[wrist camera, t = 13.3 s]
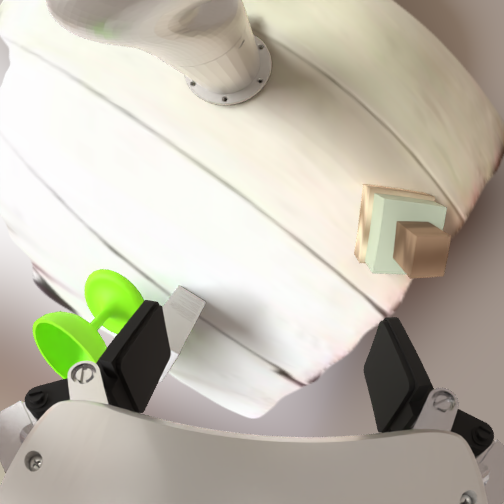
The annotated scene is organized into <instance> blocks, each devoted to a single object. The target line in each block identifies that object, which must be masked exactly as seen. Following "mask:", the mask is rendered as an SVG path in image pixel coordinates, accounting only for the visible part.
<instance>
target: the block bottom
mask: <svg viewBox="0 0 504 504" xmlns="http://www.w3.org/2000/svg"><path fill="white" fill-rule="evenodd" d="M374 193H378V194H387V195H395V196H402V197H409V198H416V199H423V200H430V201H434V202H435V197H434V196H431V195H429V194H426V193H423V192H417V191H410V190H404V189H397V188H390V187H383V186H375V185H367V184H363V189H362V199H361V208H360V216H359V224H358V231H357V238H356V245H355V251H354V254H355V256H356V258H357V259H358V261H359V263H366V262H365V257H366V251H367V245H368V239H369V232H370V225H371V218H372V210H373V202H374Z"/></svg>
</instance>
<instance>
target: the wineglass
mask: <svg viewBox="0 0 504 504" xmlns="http://www.w3.org/2000/svg"><path fill="white" fill-rule="evenodd" d="M85 299H86V302H87V305H88V307H89V309H90V311H91V313H92V314H93V316H94V317H95V319H94V320H93V321H92V322H91V323H89V322H87V321H86V320H84V319H83V318H82V317H80V316H78V315H76V314H72V313H67V312H61V311H60V312H55V313H49V314H45V315H44V316H42V317H41V318H39V319H38V320H36V321H35V322H34V325H33V336H34V339H35V342H36V345H37V347H38V348H39V350H40V352H41V354H42V355H43V357H44V358H45V360H46V361H47V363H49V365H50V366H51V367H52V368H53V369H54V371H56V373H58V374H59V375H60V376H61V377H62V378H63V379H66V378H68V377H67V376H68V371H69V369H70V368H71V367H72V366H73V365H74V364H76V363H78V362H80V361H92V362H94V363H97V361H98V360H99V358H100V357H101V355H102V354H103V353H104V351H105V350H106V349H107V347H106V345H105V342H104V341H103V339H102V337H101V336H100V334H99V333H98V331H97V330H98V329H99V328H100V327H101V326H102V325H103V326H104V327H105V328H107V329H108V330H110V331H111V332H114V333H116V334H118V333H119V332H120V331H121V329H122V328H123V327H124V325H125V324H126V323H127V322H128V320H129V319H130V318H131V317H132V315H133V314H134V313H135V312H136V310H137V309H138V308H139V307H140V305H141V304H142V303H143V302H144V300H143V298H142V296H141V294H140V293H139V291H138V290H137V289H136V287H135V286H134V285H133V284H132V283H131V282H130V281H129V280H127V279H126V278H125V277H123V276H122V275H120V274H119V273H116V272H114V271H111V270H103V269H100V270H97V271H94V272H93V273H92V274H91V275H89V277H88V279H87V281H86V284H85Z"/></svg>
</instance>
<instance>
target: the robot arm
mask: <svg viewBox="0 0 504 504" xmlns="http://www.w3.org/2000/svg"><path fill="white" fill-rule="evenodd" d="M46 5H47V7H48V10H49V12H50V14H51V15H52V17H53V18H54V19H55V21H56V22H57V23H59V24H60V25H61V26H62V27H63V28H65V29H66V30H68V31H69V32H71V33H73V34H75V35H77V36H79V37H82V38H85V39H88V40H92V41H95V42H99V43H104V44H110V45H117V46H125V47H132V48H137V49H140V50H143V51H145V52H148V53H149V54H151V55H153V56H155V57H157V58H159V59H160V60H162V61H163V62H165V63H166V64H168V65H170V66H171V67H173V68H174V69H176V70H178V71H179V72H181V73H182V74H184V76H185V80H186V83H187V85H188V86H189V88H190V89H191V91H192V92H193V93H194V94H195V95H196V96H198V97H199V98H201V99H202V100H204V101H207V102H209V103H212V104H217V105H232V104H238V103H241V102H244V101H246V100H248V99H250V98H252V97H253V96H254V95H256V94H257V93H258V92H259V91H260V90H261V89H262V88H263V87H264V86H265V84H266V83H267V81H268V79H269V76H270V74H271V68H272V61H271V56H270V52H269V50H268V48H267V46H266V45H265V44H264V42H263V41H262V40H261V39H259V38H258V37H257V36H255V35H254V34H253V33H252V29H251V26H250V23H249V20H248V16H247V13H246V10H245V7H244V4H243V2H242V0H46ZM260 48H263V49H262V50H260ZM259 81H262V83H259ZM195 83H196V85H195V86H193V84H195ZM226 98H227V99H228V100H227V101H225V99H226ZM170 356H171V350H170V345H169V340H168V335H167V330H166V324H165V319H164V313H163V308H162V306H160V305H159V303H158V302H155V301H148V300H145V301H144V302H143V303H142V304H141V305H140V307H139V308H138V309H137V310H136V312H135V313H134V314H133V315H132V317H131V318H130V319H129V320H128V322H127V323H126V324H125V325H124V327H123V328H122V329H121V331H120V332H119V333H118V334H117V336H116V337H115V338H114V340H113V341H112V342H111V343H110V345H109V346H108V347H107V349H106V350H105V351H104V353H103V354H102V355H101V357H100V358H99V360H98V361H97V363H94V362H92V361H80V362H78V363H76V364H74V365H73V366H72V367H71V368H70V369H69V371H68V376H67V377H68V378H66V379H63V380H59V381H56V382H52V383H48V384H45V385H41V386H37V387H34V388H32V389H31V390H30V391H29V392H28V393H27V394H26V397H25V402H22V401H21V400H20V401H18V402H17V403H15V404H13V405H11V406H9V407H8V408H6V409H4V410H2V411H0V461H1V464H2V466H3V468H4V471H5V473H6V475H5V476H4V479H3V481H2V483H1V485H0V504H502V503H503V502H504V445H503V444H502V443H501V442H500V441H498V440H496V441H494V440H493V439H494V433H493V430H492V428H491V427H490V426H489V425H488V424H487V423H485V422H483V421H481V420H479V419H477V418H475V417H473V416H471V415H469V414H467V413H465V412H463V411H461V410H459V409H458V405H459V402H458V398H457V397H456V395H455V394H454V393H453V392H452V391H450V390H449V389H446V388H436V389H434V388H433V386H432V384H431V382H430V379H429V377H428V375H427V373H426V371H425V369H424V367H423V364H422V363H421V361H420V358H419V356H418V354H417V353H416V350H415V349H414V346H413V345H412V343H411V341H410V339H409V337H408V335H407V333H406V331H405V330H404V327H403V326H402V324H401V322H400V320H399V319H398V318H397V317H391V318H385V319H384V320H383V321H381V322H380V323H379V326H378V329H377V333H376V335H375V339H374V341H373V344H372V347H371V349H370V352H369V355H368V357H367V360H366V363H365V365H364V375H365V379H366V382H367V386H368V390H369V394H370V398H371V402H372V406H373V411H374V415H375V420H376V424H377V429H378V431H379V432H382V433H377V434H367V435H355V436H339V437H280V436H263V435H252V434H242V433H234V432H226V431H219V430H213V429H206V428H201V427H195V426H190V425H185V424H181V423H176V422H172V421H168V420H164V419H160V418H155V417H151V416H148V415H144V414H140V413H143V412H144V410H145V408H146V406H147V404H148V402H149V400H150V398H151V396H152V394H153V392H154V390H155V388H156V386H157V384H158V381H159V379H160V377H161V375H162V373H163V371H164V369H165V367H166V365H167V363H168V361H169V359H170Z"/></svg>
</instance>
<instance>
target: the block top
mask: <svg viewBox="0 0 504 504" xmlns="http://www.w3.org/2000/svg"><path fill="white" fill-rule="evenodd" d="M446 210H447V207H445V206H443V205H441V204H439V203H436V202H434V201H430V200H423V199H416V198H409V197H402V196H395V195H387V194H378V193H374V202H373V210H372V218H371V225H370V232H369V239H368V245H367V251H366V257H365V262H366V264H367V265H368V267H369V269H370V270H371V272H372V273H380V274H406V273H405V272H404V271H403V269H402V268H401V267H400V266H399V265H398V263H397V262H396V261H395V260H394V259H393V252H394V243H395V234H396V223H397V221H422V222H430V223H431V224H433V225H434V226H436V227H438V228H439V229H441V230H442V231H443V227H444V222H445V216H446Z"/></svg>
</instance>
